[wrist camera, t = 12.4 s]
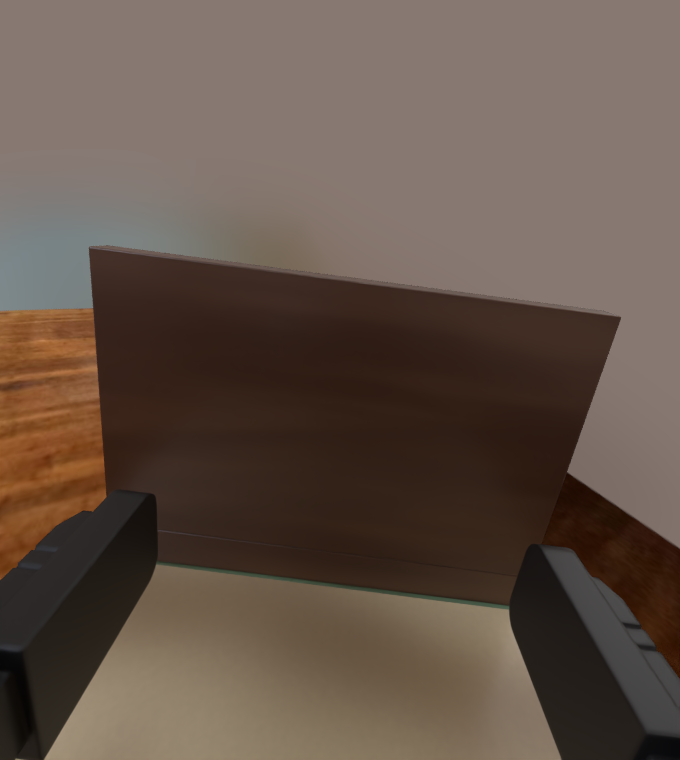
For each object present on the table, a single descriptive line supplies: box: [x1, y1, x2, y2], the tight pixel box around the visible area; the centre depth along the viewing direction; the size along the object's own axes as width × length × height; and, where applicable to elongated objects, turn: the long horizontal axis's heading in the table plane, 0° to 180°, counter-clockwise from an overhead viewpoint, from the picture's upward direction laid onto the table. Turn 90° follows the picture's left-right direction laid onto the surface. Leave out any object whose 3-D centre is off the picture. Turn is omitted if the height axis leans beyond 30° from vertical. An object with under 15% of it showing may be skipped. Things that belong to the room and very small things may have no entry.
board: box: [15, 561, 562, 760], centre depth 14 cm, size 28×20×1 cm
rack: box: [89, 245, 621, 606], centre depth 19 cm, size 10×16×12 cm, turn 88°
